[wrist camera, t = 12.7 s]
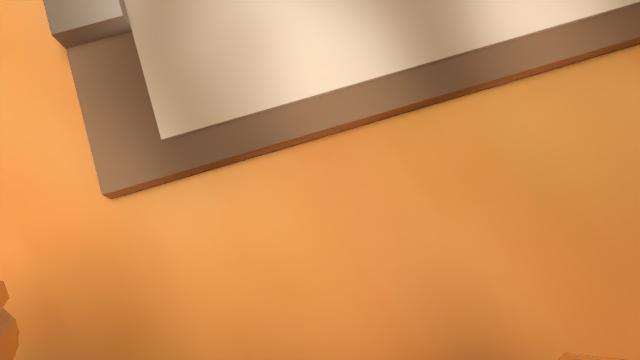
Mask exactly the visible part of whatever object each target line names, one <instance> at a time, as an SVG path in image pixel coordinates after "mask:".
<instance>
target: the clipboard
mask: <svg viewBox="0 0 640 360" xmlns="http://www.w3.org/2000/svg"><path fill="white" fill-rule="evenodd" d="M43 2H44V6H45V10H46V14H47V18H48V22H49V26H50V30H51V34H52V36H53V37H54V38H55V39H56V40H57V41H58V42H59V43H60V44H61V45H62V46H64V47H65V48H66V51H67V55H68V59H69V63H70V67H71V71H72V75H73V79H74V83H75V87H76V91H77V95H78V99H79V103H80V107H81V111H82V115H83V119H84V123H85V127H86V131H87V135H88V139H89V143H90V147H91V152H92V156H93V160H94V164H95V168H96V172H97V176H98V180H99V184H100V188H101V192H102V195H104V196H106V197H108V198H110V199H113V198H117V197H120V196H123V195H127V194H130V193H134V192H137V191H140V190H144V189H147V188H151V187H154V186H157V185H161V184H164V183H168V182H171V181H174V180H178V179H181V178H185V177H188V176H191V175H195V174H198V173H202V172H205V171H208V170H212V169H215V168H219V167H222V166H225V165H229V164H232V163H236V162H239V161H242V160H246V159H249V158H253V157H256V156H259V155H263V154H266V153H270V152H273V151H276V150H280V149H283V148H286V147H290V146H293V145H297V144H300V143H303V142H307V141H310V140H314V139H317V138H320V137H324V136H327V135H331V134H334V133H337V132H341V131H344V130H348V129H351V128H354V127H358V126H361V125H365V124H368V123H371V122H375V121H378V120H382V119H385V118H388V117H392V116H395V115H399V114H402V113H405V112H409V111H412V110H416V109H419V108H422V107H426V106H429V105H433V104H436V103H439V102H443V101H446V100H450V99H453V98H456V97H460V96H463V95H467V94H470V93H473V92H477V91H480V90H484V89H487V88H490V87H494V86H497V85H501V84H504V83H507V82H511V81H514V80H518V79H521V78H524V77H528V76H531V75H535V74H538V73H541V72H545V71H548V70H552V69H555V68H558V67H562V66H565V65H569V64H572V63H575V62H579V61H582V60H586V59H589V58H592V57H596V56H599V55H603V54H606V53H609V52H613V51H616V50H620V49H623V48H626V47H630V46H633V45H637V44H640V0H43Z"/></svg>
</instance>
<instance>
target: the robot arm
mask: <svg viewBox="0 0 640 360" xmlns="http://www.w3.org/2000/svg"><path fill="white" fill-rule="evenodd" d="M8 299H9V295H8V293H7V290H6V287H5V284H4V282H3V281H0V360H14V357H15V354H16V351H17V348H18V334H19V331H18V327H17V324H16V320H15V319H14V318H13V317H12V316H11V315H10V314H9V313H8V312H7V311H6V310H5V309H4V308H3V306H4V305H5V303H6V302H7V301H8ZM558 360H624V359H616V358H608V357H599V356H591V355H582V354H574V353H565V354H563V355H562V356H561V357H559V359H558Z"/></svg>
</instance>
